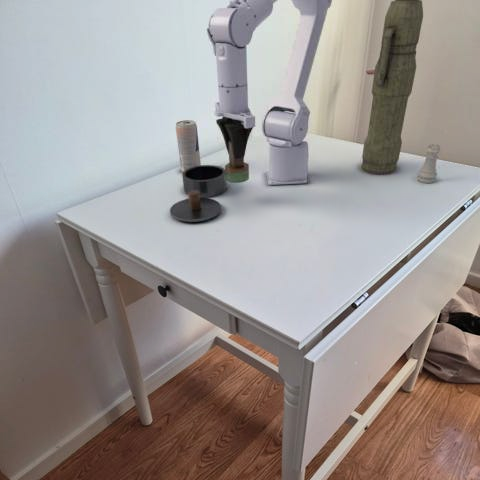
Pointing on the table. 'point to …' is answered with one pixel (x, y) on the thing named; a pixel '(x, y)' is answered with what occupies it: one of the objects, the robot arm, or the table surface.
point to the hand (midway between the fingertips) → (236, 155)
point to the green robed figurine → (392, 86)
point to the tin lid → (195, 208)
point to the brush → (236, 168)
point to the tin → (205, 180)
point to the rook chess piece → (429, 165)
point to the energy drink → (188, 144)
